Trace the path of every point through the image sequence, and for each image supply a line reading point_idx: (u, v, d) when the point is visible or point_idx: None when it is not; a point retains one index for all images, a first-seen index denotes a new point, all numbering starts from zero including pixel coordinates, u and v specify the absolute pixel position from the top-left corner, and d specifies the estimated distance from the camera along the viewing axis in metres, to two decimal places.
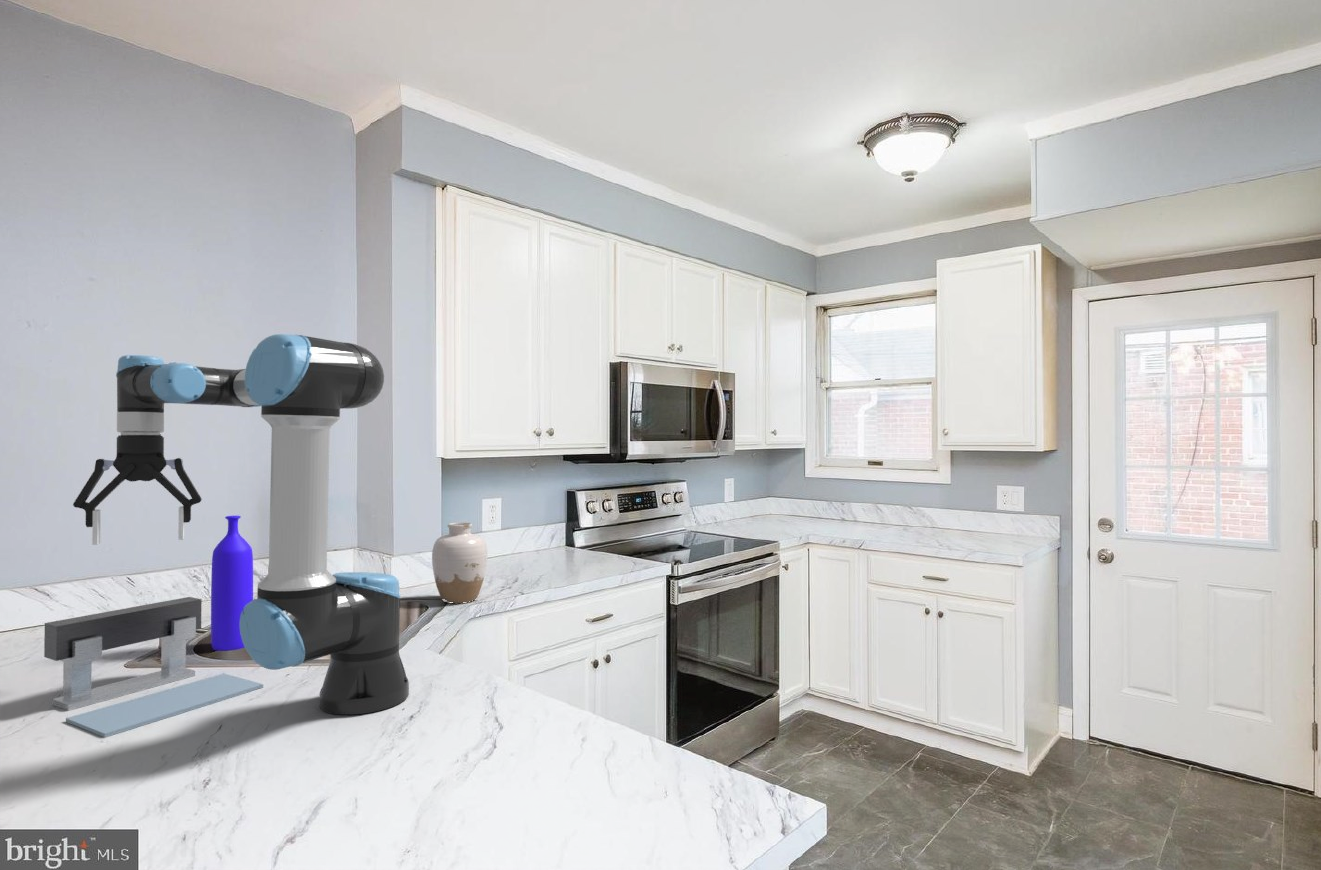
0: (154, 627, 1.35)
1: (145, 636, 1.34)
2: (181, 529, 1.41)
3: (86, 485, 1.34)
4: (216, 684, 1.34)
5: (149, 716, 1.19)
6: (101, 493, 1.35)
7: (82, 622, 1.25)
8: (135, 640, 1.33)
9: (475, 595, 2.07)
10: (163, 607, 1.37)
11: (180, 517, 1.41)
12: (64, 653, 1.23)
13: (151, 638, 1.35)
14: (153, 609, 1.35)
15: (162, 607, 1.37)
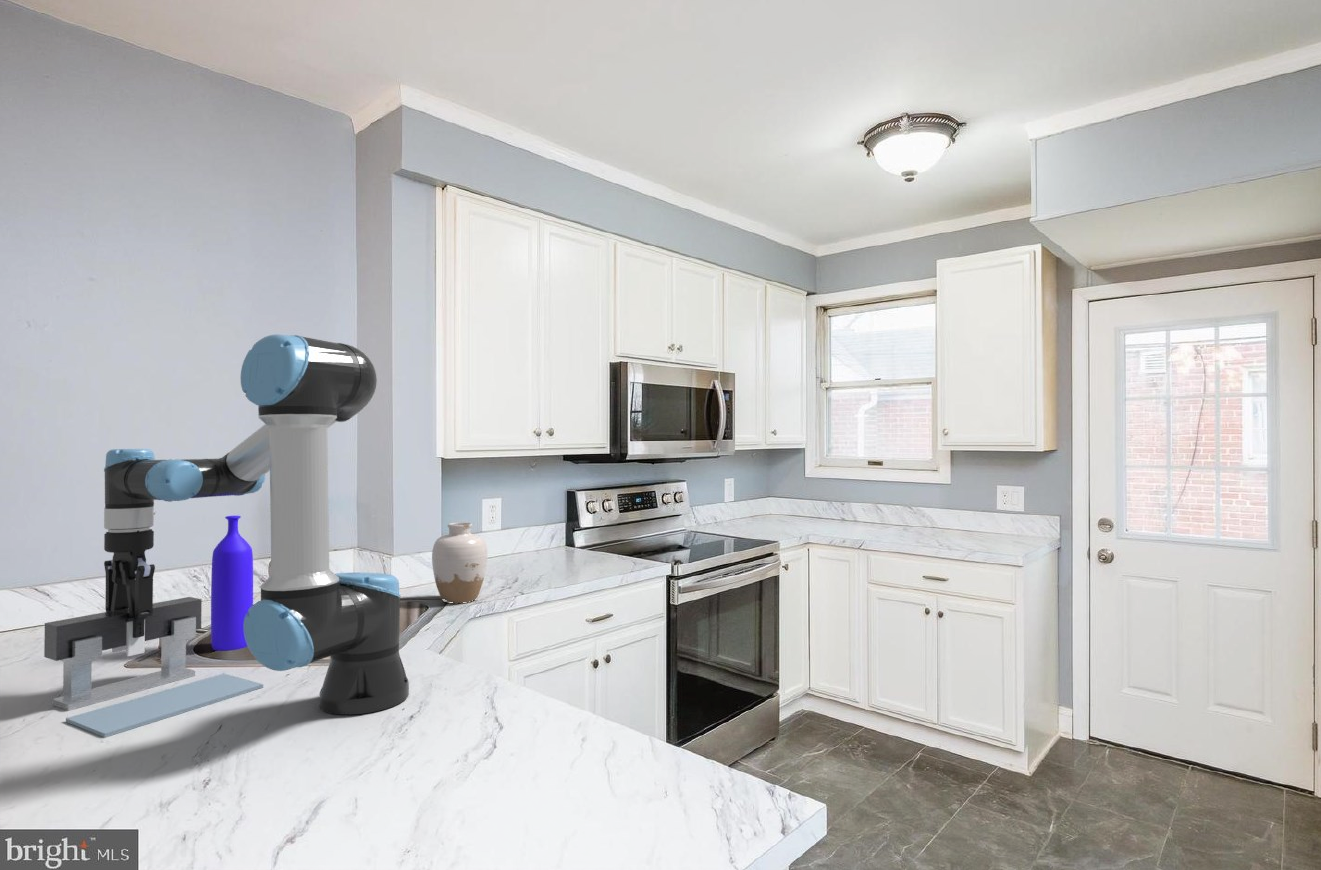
0: (154, 627, 1.35)
1: (145, 636, 1.34)
2: (127, 645, 1.31)
3: (106, 589, 1.35)
4: (216, 684, 1.34)
5: (149, 716, 1.19)
6: (113, 597, 1.34)
7: (82, 622, 1.25)
8: None
9: (475, 595, 2.07)
10: (163, 607, 1.37)
11: (127, 631, 1.31)
12: (64, 653, 1.23)
13: (151, 638, 1.35)
14: (153, 609, 1.35)
15: (162, 607, 1.37)
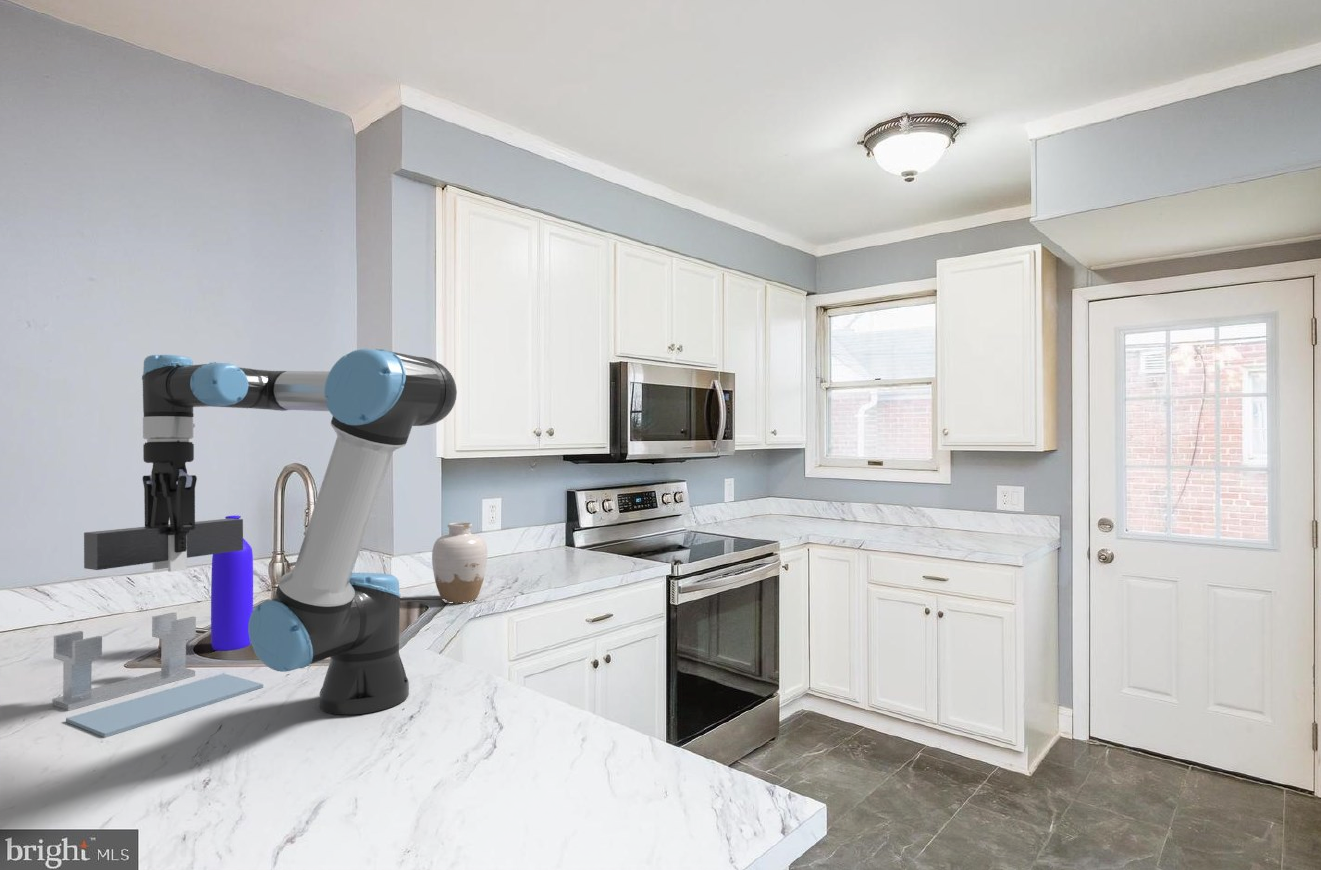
0: (195, 544, 1.29)
1: (187, 552, 1.28)
2: (169, 560, 1.25)
3: (145, 505, 1.29)
4: (216, 684, 1.34)
5: (149, 716, 1.19)
6: (153, 512, 1.28)
7: (123, 532, 1.19)
8: None
9: (475, 595, 2.07)
10: (204, 524, 1.30)
11: (169, 546, 1.25)
12: (105, 563, 1.17)
13: (193, 555, 1.29)
14: None
15: (203, 524, 1.30)
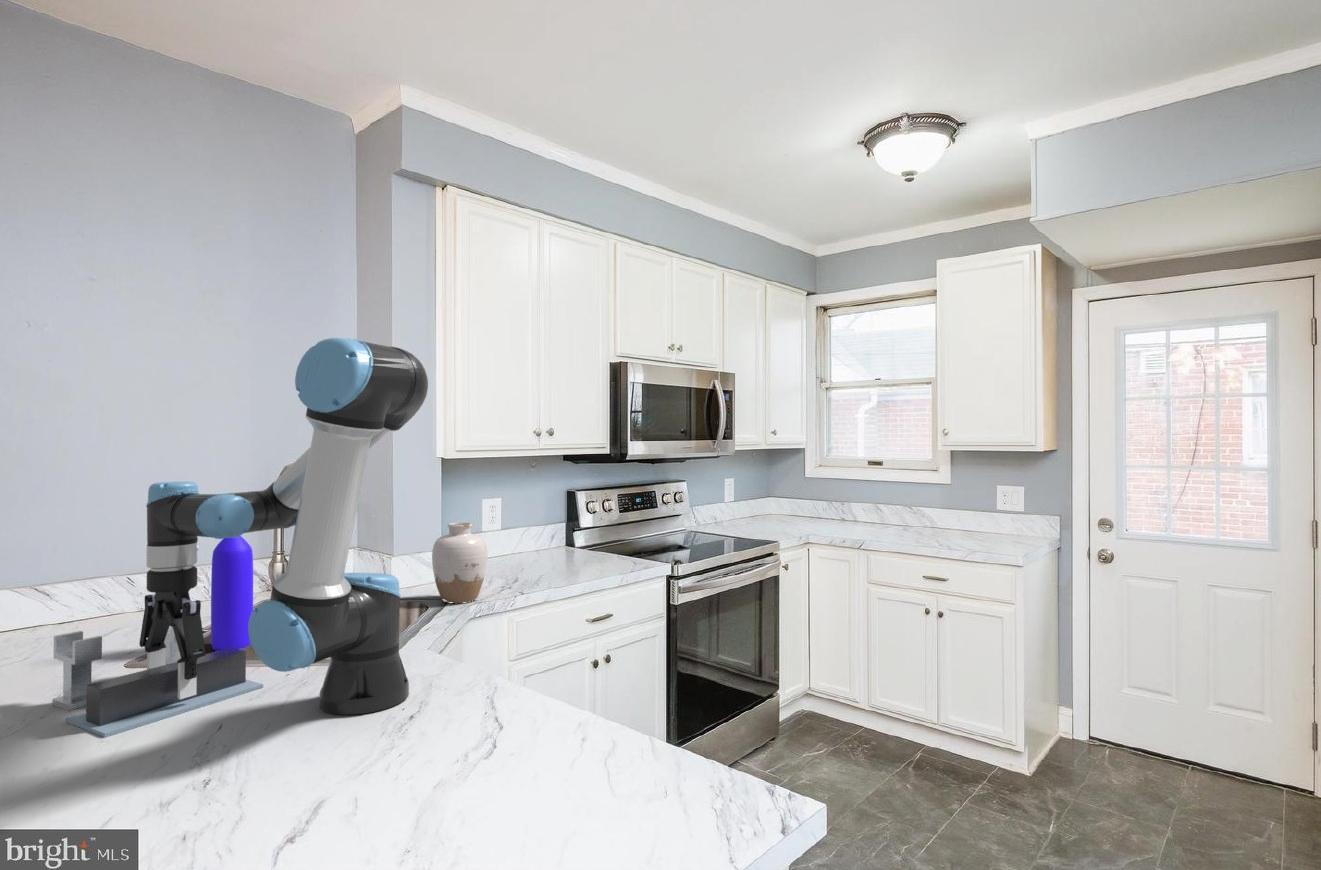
0: (198, 684, 1.28)
1: None
2: (179, 687, 1.23)
3: (143, 623, 1.29)
4: None
5: (149, 716, 1.19)
6: (150, 633, 1.28)
7: (126, 683, 1.18)
8: (179, 699, 1.25)
9: (475, 595, 2.07)
10: (207, 662, 1.29)
11: (179, 673, 1.23)
12: (107, 718, 1.16)
13: (195, 696, 1.28)
14: (197, 665, 1.28)
15: (206, 662, 1.29)
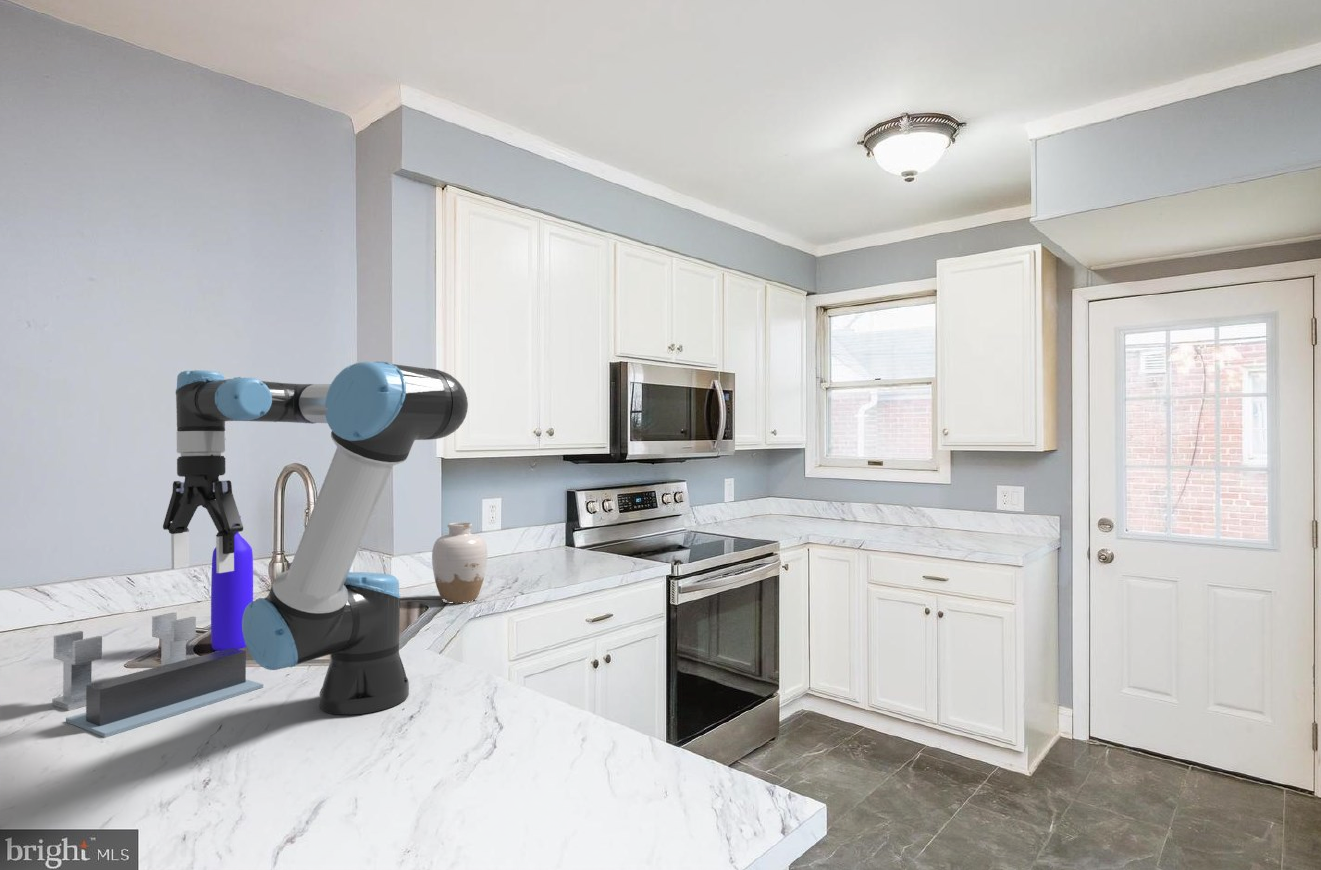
0: (198, 684, 1.28)
1: (189, 693, 1.27)
2: (218, 561, 1.25)
3: (168, 507, 1.32)
4: None
5: (149, 716, 1.19)
6: (176, 516, 1.31)
7: (126, 683, 1.18)
8: (179, 699, 1.25)
9: (475, 595, 2.07)
10: (207, 662, 1.29)
11: (217, 547, 1.25)
12: (107, 718, 1.16)
13: (195, 696, 1.28)
14: (197, 665, 1.28)
15: (206, 662, 1.29)
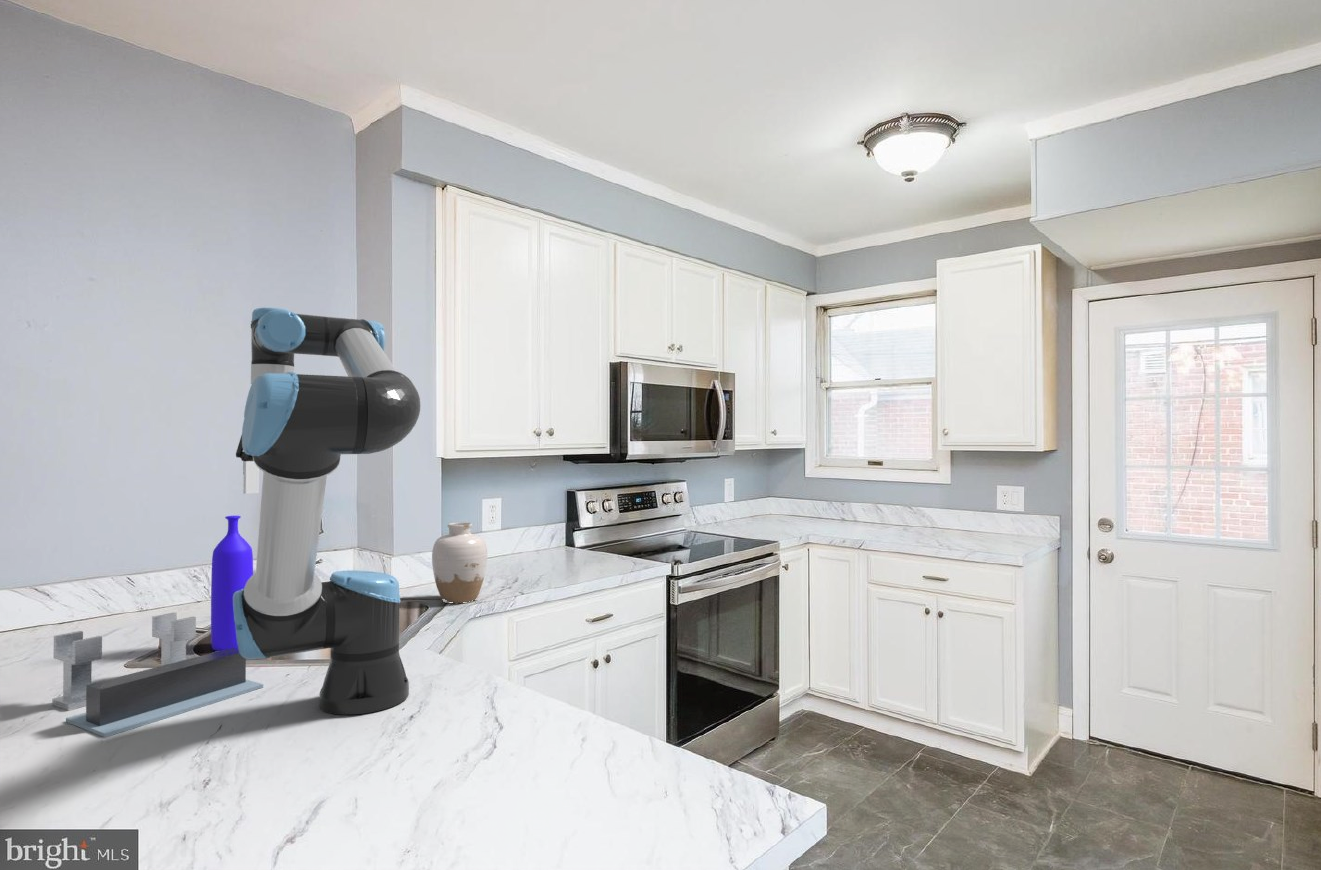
0: (198, 684, 1.28)
1: (189, 693, 1.27)
2: None
3: (241, 437, 1.42)
4: None
5: (149, 716, 1.19)
6: None
7: (126, 683, 1.18)
8: (179, 699, 1.25)
9: (475, 595, 2.07)
10: (207, 662, 1.29)
11: None
12: (107, 718, 1.16)
13: (195, 696, 1.28)
14: (197, 665, 1.28)
15: (206, 662, 1.29)
